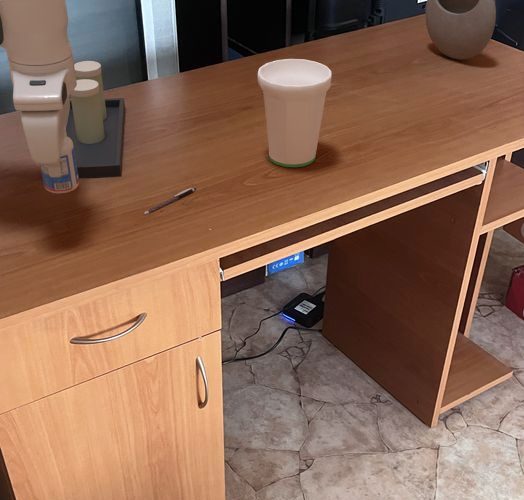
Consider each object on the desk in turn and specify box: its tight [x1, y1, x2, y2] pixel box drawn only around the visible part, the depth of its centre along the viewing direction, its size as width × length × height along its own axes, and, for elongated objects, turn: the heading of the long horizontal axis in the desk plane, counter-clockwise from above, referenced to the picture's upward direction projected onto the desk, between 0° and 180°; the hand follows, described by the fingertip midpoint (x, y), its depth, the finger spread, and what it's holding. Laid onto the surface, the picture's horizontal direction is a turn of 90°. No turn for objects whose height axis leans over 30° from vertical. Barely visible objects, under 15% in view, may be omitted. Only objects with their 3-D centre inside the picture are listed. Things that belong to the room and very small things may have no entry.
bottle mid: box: [70, 79, 105, 144], centre depth 141 cm, size 5×5×10 cm
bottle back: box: [74, 60, 107, 120], centre depth 148 cm, size 5×5×10 cm
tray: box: [66, 97, 126, 179], centre depth 144 cm, size 12×29×2 cm, turn 6°
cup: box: [257, 58, 333, 168], centre depth 136 cm, size 12×12×15 cm
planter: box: [425, 0, 497, 61], centre depth 172 cm, size 18×7×19 cm, turn 39°
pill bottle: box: [39, 126, 80, 194], centre depth 119 cm, size 6×5×10 cm
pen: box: [143, 187, 197, 216], centre depth 128 cm, size 11×1×1 cm, turn 136°
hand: (58, 164), depth 120 cm, fingers closed on pill bottle, 5 cm apart
